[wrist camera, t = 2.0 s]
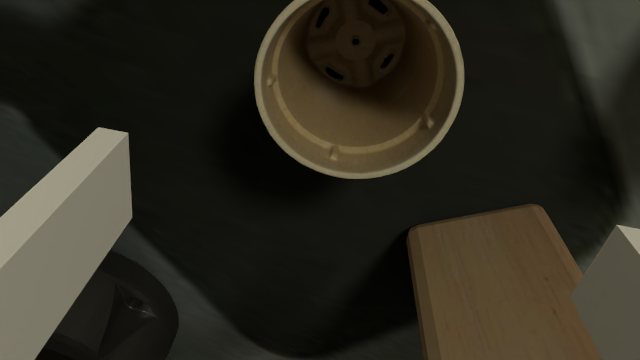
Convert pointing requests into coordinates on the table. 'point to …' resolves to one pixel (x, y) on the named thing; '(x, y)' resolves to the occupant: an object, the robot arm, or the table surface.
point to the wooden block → (496, 288)
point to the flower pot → (359, 84)
